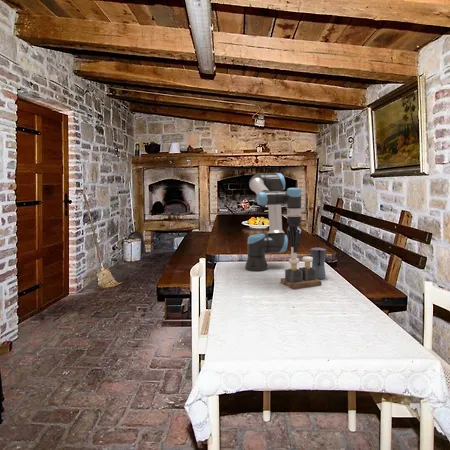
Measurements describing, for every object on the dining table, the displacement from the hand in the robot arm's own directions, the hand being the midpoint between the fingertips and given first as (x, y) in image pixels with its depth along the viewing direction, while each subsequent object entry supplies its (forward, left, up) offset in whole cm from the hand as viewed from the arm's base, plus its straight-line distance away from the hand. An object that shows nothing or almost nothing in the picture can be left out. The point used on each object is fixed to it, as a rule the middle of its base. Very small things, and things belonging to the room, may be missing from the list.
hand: (293, 258), depth 189 cm
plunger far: (0, +9, -8) cm, 12 cm away
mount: (0, +5, -15) cm, 16 cm away
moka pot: (-7, +22, -16) cm, 27 cm away
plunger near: (0, 0, -8) cm, 8 cm away
